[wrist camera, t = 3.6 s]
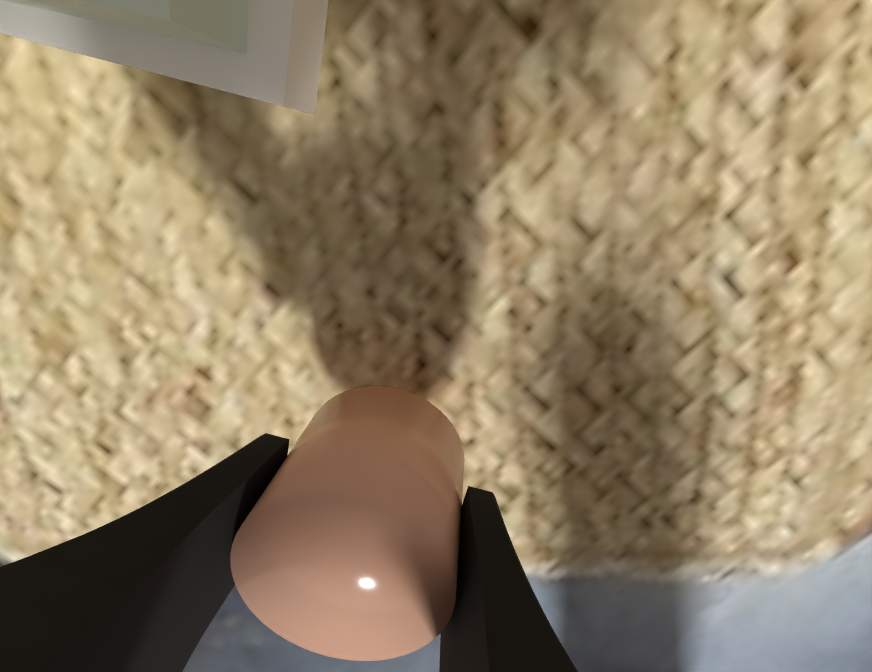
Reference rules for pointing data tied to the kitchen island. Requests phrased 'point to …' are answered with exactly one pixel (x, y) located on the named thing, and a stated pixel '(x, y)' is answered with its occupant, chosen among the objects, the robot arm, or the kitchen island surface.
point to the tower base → (200, 49)
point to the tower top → (164, 17)
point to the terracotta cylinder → (358, 529)
